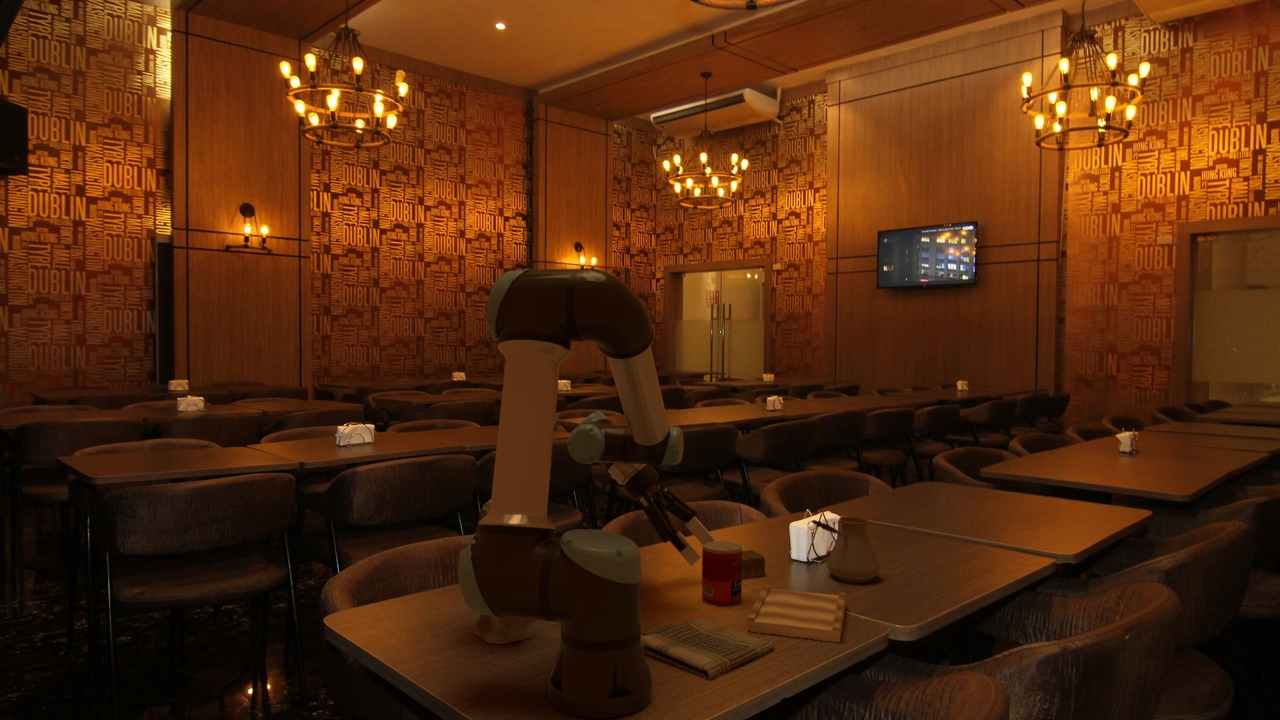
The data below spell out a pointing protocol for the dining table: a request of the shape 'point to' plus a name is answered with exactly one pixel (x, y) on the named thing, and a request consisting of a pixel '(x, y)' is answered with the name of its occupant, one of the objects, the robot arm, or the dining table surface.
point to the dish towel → (703, 647)
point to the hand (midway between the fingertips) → (704, 552)
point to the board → (798, 614)
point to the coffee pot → (851, 551)
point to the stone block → (752, 564)
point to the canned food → (721, 573)
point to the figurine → (502, 627)
